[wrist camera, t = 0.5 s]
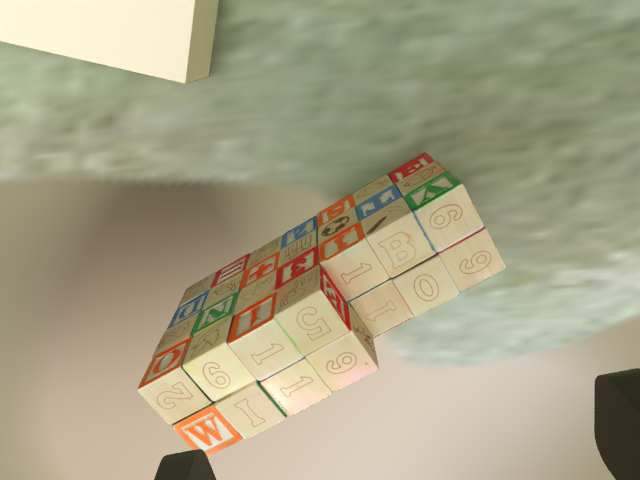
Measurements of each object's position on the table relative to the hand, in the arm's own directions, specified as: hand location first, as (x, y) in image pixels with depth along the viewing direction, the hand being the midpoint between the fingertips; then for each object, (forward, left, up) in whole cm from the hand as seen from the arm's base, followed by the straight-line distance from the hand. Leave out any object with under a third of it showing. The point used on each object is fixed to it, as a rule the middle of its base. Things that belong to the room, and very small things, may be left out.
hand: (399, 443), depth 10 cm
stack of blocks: (+7, +1, -27) cm, 28 cm away
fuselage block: (-7, -17, -27) cm, 32 cm away
